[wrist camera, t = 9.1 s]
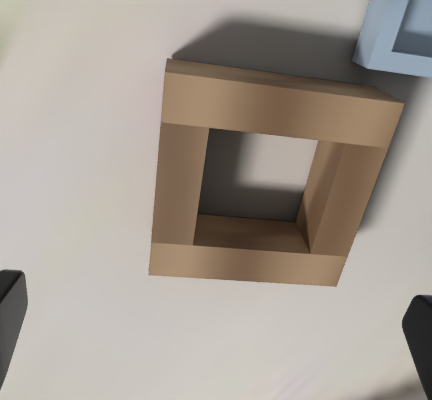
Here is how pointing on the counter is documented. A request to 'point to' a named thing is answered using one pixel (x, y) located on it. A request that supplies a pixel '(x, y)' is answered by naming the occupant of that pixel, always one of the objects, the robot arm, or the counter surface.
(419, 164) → the counter surface
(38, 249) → the counter surface
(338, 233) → the brown square frame
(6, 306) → the robot arm
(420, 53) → the tray
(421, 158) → the counter surface
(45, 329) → the counter surface
